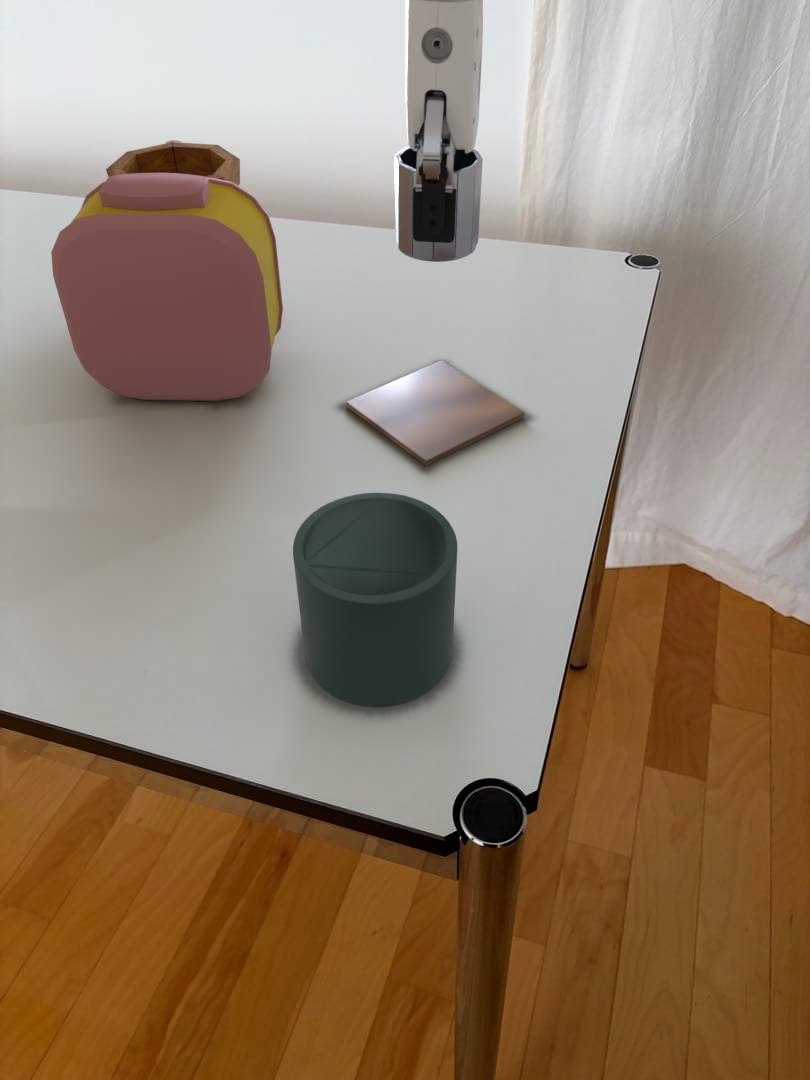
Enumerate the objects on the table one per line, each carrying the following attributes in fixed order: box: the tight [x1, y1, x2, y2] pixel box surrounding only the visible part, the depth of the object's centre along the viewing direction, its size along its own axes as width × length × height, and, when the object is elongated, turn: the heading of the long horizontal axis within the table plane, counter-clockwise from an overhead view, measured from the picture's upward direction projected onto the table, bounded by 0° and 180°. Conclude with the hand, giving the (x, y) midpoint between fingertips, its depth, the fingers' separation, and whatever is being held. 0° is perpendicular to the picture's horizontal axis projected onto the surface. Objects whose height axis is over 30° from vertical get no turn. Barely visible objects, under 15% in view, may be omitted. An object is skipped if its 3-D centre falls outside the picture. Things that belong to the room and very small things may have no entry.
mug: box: [105, 139, 241, 187], centre depth 99 cm, size 20×14×15 cm
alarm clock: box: [50, 173, 284, 402], centre depth 83 cm, size 18×11×19 cm, turn 88°
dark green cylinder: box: [292, 491, 458, 708], centre depth 60 cm, size 10×10×10 cm
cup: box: [394, 142, 484, 263], centre depth 72 cm, size 7×7×7 cm
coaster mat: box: [345, 360, 525, 467], centre depth 85 cm, size 12×12×1 cm
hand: (437, 218), depth 73 cm, fingers closed on cup, 6 cm apart
